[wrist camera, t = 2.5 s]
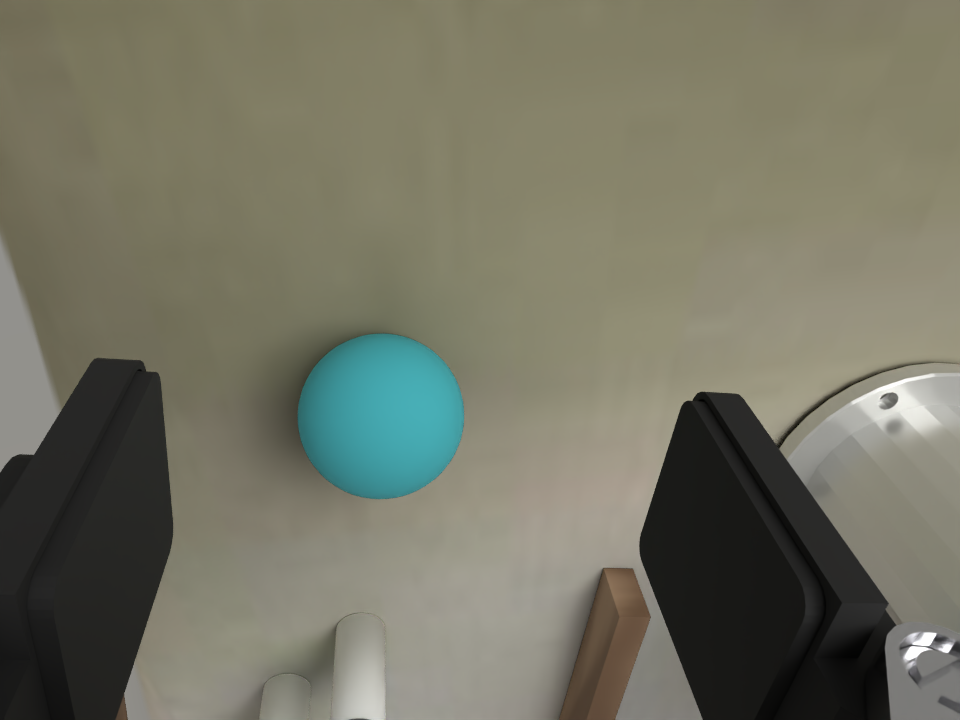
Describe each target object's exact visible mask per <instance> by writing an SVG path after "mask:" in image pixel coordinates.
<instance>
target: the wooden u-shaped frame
mask: <svg viewBox="0 0 960 720" xmlns="http://www.w3.org/2000/svg"><path fill="white" fill-rule="evenodd" d="M650 618H651V616H650V614H649V611H648V608H647V606H646V603H645V600H644V597H643V595H642V592H641V589H640V587H639V584H638V581H637V578H636V576H635V573H634V570H633V569H620V568H604V569H603V572H602V575H601V579H600V582H599V586H598V589H597V592H596V596H595V599H594V603H593V606H592V609H591V613H590V616H589V620H588V623H587V626H586V630H585V633H584V637H583V640H582V643H581V647H580V650H579V654H578V657H577V660H576V664H575V667H574V671H573V674H572V677H571V681H570V684H569V688H568V691H567V694H566V698H565V701H564V705H563V708H562V711H561V715H560V718H559V720H615V718H616V715H617V712H618V709H619V706H620V703H621V701H622V698H623V695H624V692H625V689H626V686H627V684H628V681H629V678H630V675H631V672H632V669H633V666H634V664H635V661H636V658H637V655H638V652H639V649H640V647H641V644H642V641H643V638H644V635H645V632H646V629H647V627H648V624H649V621H650ZM116 720H128V719H127V711H126V704H125V698H124V696H123V699H122V702H121V705H120V708H119V711H118V714H117V717H116Z"/></svg>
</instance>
